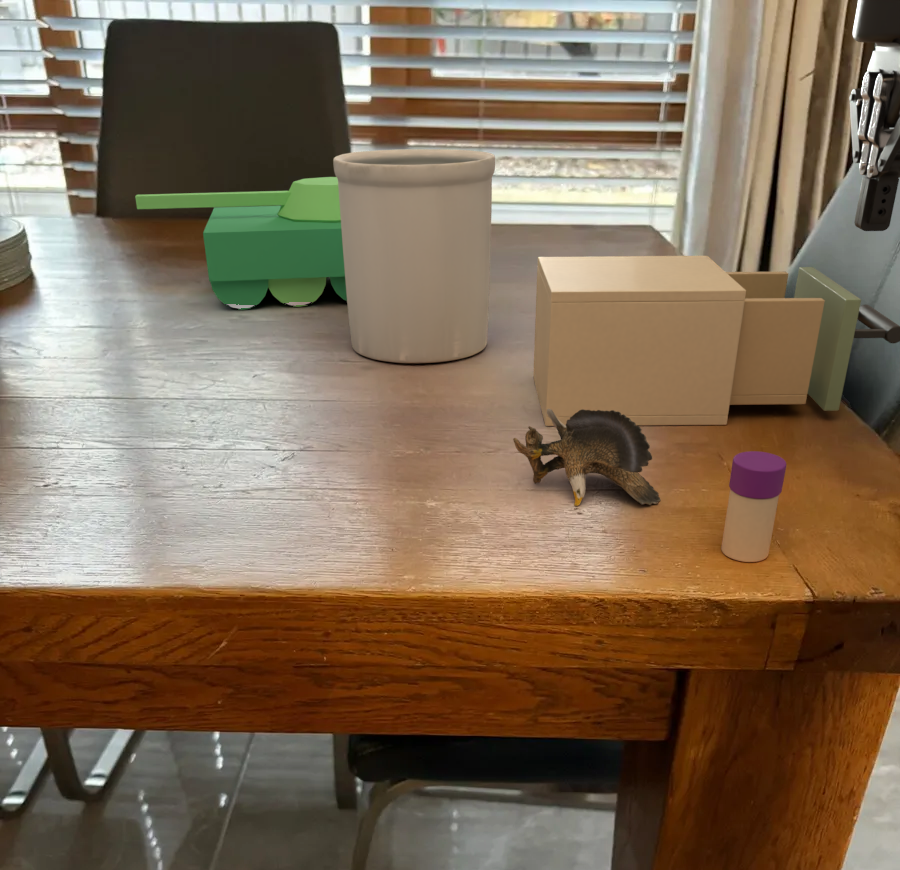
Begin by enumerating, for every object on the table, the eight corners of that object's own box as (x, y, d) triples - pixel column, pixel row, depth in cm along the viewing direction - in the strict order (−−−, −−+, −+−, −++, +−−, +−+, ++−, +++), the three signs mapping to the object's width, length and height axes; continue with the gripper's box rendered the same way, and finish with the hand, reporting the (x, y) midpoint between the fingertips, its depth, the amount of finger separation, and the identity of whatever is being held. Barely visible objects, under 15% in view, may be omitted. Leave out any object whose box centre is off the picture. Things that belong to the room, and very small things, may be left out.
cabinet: (692, 375, 89) (707, 255, 84) (726, 424, 78) (746, 290, 73) (533, 377, 89) (537, 256, 84) (545, 426, 78) (551, 291, 73)
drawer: (849, 367, 88) (870, 266, 84) (899, 410, 78) (926, 299, 74) (646, 368, 88) (655, 268, 84) (671, 412, 78) (683, 300, 74)
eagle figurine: (511, 500, 64) (651, 493, 60) (511, 392, 64) (650, 379, 61) (541, 517, 71) (667, 511, 68) (541, 420, 71) (666, 410, 68)
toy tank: (144, 176, 118) (432, 169, 122) (160, 281, 124) (433, 271, 128) (122, 197, 102) (452, 188, 106) (141, 316, 109) (452, 303, 113)
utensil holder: (345, 327, 104) (333, 147, 95) (483, 322, 105) (485, 144, 96) (344, 369, 92) (331, 166, 83) (501, 364, 93) (505, 163, 84)
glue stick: (762, 540, 61) (778, 450, 58) (776, 563, 58) (793, 470, 55) (714, 540, 61) (727, 450, 58) (726, 563, 58) (740, 470, 55)
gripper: (1026, -45, 61) (956, 245, 70) (937, -35, 72) (887, 214, 81) (905, -43, 61) (851, 247, 70) (835, -33, 72) (796, 215, 81)
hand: (870, 228), depth 75 cm, fingers closed
